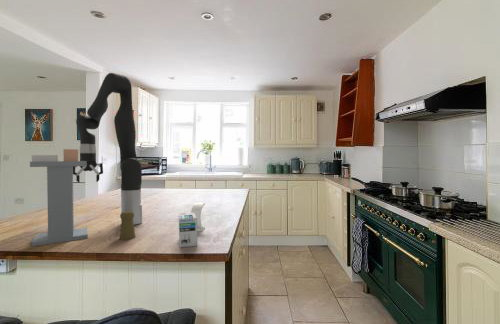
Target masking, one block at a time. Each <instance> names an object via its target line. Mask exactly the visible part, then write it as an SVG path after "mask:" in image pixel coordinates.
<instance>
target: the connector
mask: <svg viewBox="0 0 500 324" xmlns="http://www.w3.org/2000/svg"><path fill="white" fill-rule="evenodd" d="M62 152H63V155H62V156H63V161H79V149H77V148H76V149H73V148H70V149H69V148H67V149H66V148H65V149H63V151H62Z"/></svg>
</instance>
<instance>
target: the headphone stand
mask: <svg viewBox="0 0 500 324" xmlns="http://www.w3.org/2000/svg"><path fill="white" fill-rule="evenodd" d="M205 205H206V203H205V202H194V204H193V205H192V207H191V210H190V213H195V215H196V217H197V232H201V231H203V230H205V229H206V226H204V225H202V219H201V215H202V210H203V208H204V206H205Z"/></svg>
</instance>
